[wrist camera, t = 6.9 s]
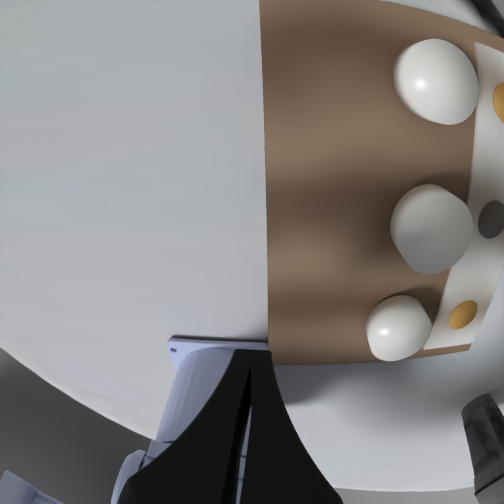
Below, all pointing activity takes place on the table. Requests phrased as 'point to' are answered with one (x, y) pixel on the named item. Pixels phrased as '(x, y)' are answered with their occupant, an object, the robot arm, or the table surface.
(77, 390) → the table surface
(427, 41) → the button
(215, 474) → the robot arm
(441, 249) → the button middle
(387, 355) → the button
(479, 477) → the beverage cup
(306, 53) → the button board
